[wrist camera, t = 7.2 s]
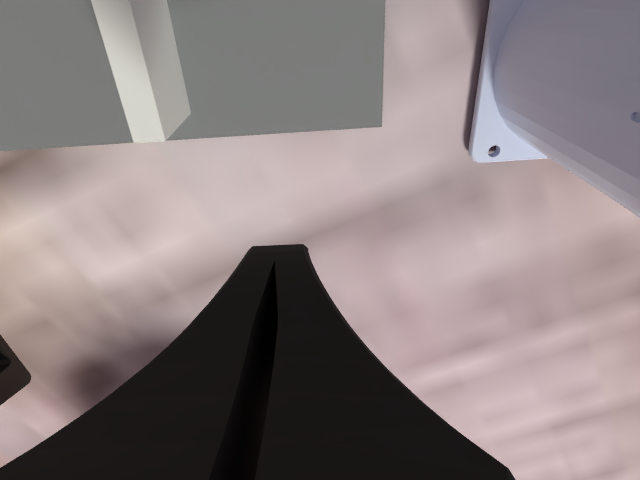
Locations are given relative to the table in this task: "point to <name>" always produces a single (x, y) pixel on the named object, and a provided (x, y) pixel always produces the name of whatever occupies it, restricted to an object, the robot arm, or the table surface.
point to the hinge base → (186, 69)
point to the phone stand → (11, 372)
